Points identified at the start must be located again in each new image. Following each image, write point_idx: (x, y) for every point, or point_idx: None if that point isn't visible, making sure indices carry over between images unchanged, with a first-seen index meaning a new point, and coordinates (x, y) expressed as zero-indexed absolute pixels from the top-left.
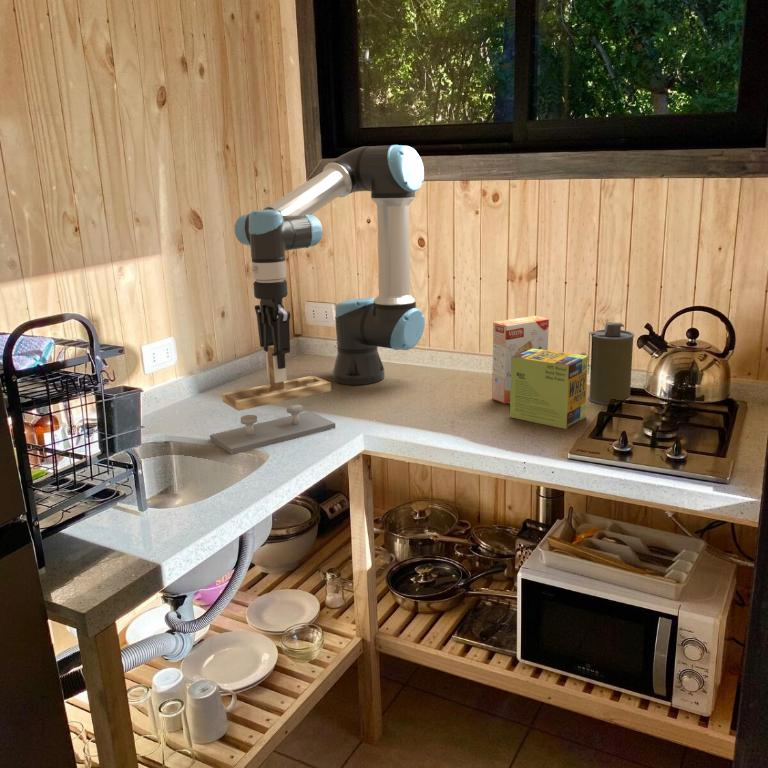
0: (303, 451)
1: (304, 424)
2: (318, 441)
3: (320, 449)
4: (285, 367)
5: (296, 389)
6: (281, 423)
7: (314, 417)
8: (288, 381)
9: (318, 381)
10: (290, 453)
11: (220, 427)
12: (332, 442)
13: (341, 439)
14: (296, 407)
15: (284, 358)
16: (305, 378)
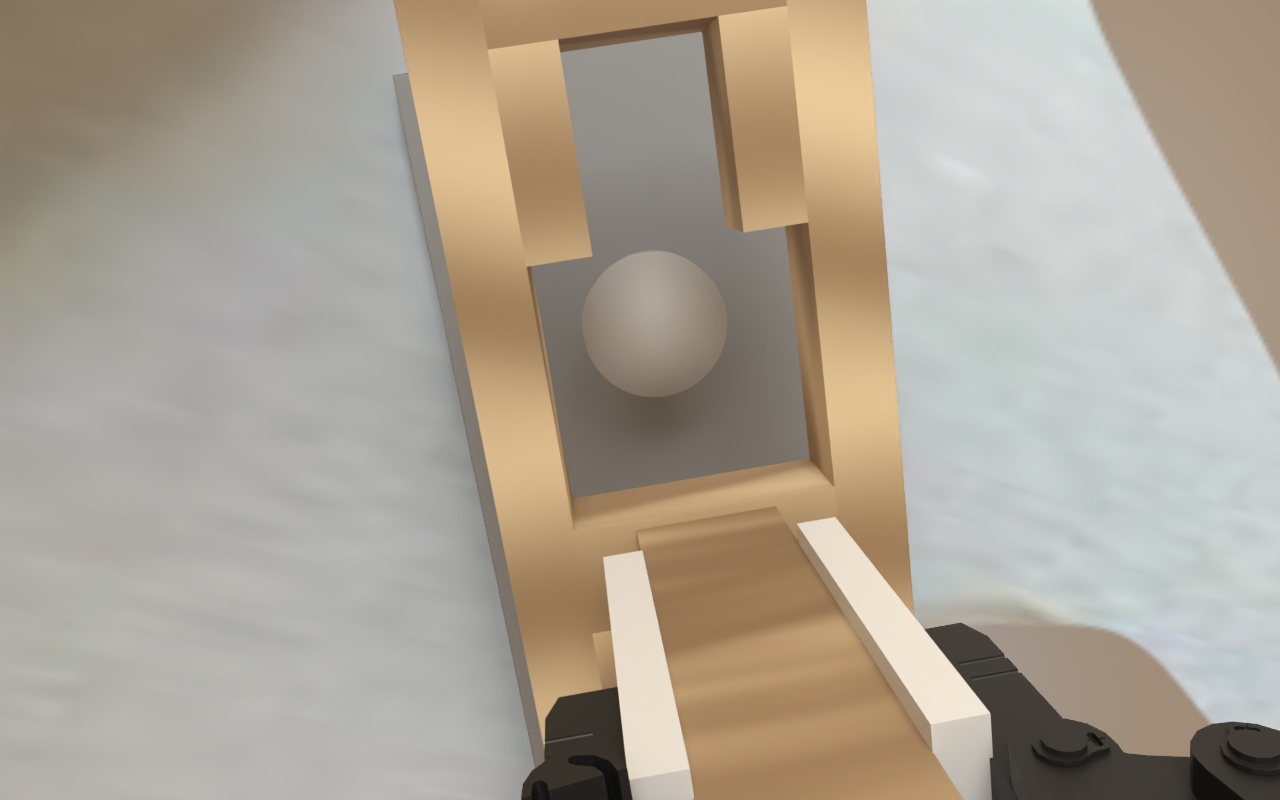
0: (1085, 405)
1: (699, 250)
2: (982, 252)
3: (1122, 296)
4: (895, 596)
5: (882, 401)
6: (583, 398)
7: (579, 113)
8: (518, 374)
9: (664, 25)
10: (1065, 486)
11: (341, 747)
12: (1059, 172)
13: (1046, 88)
14: (680, 317)
15: (1051, 713)
16: (495, 141)
